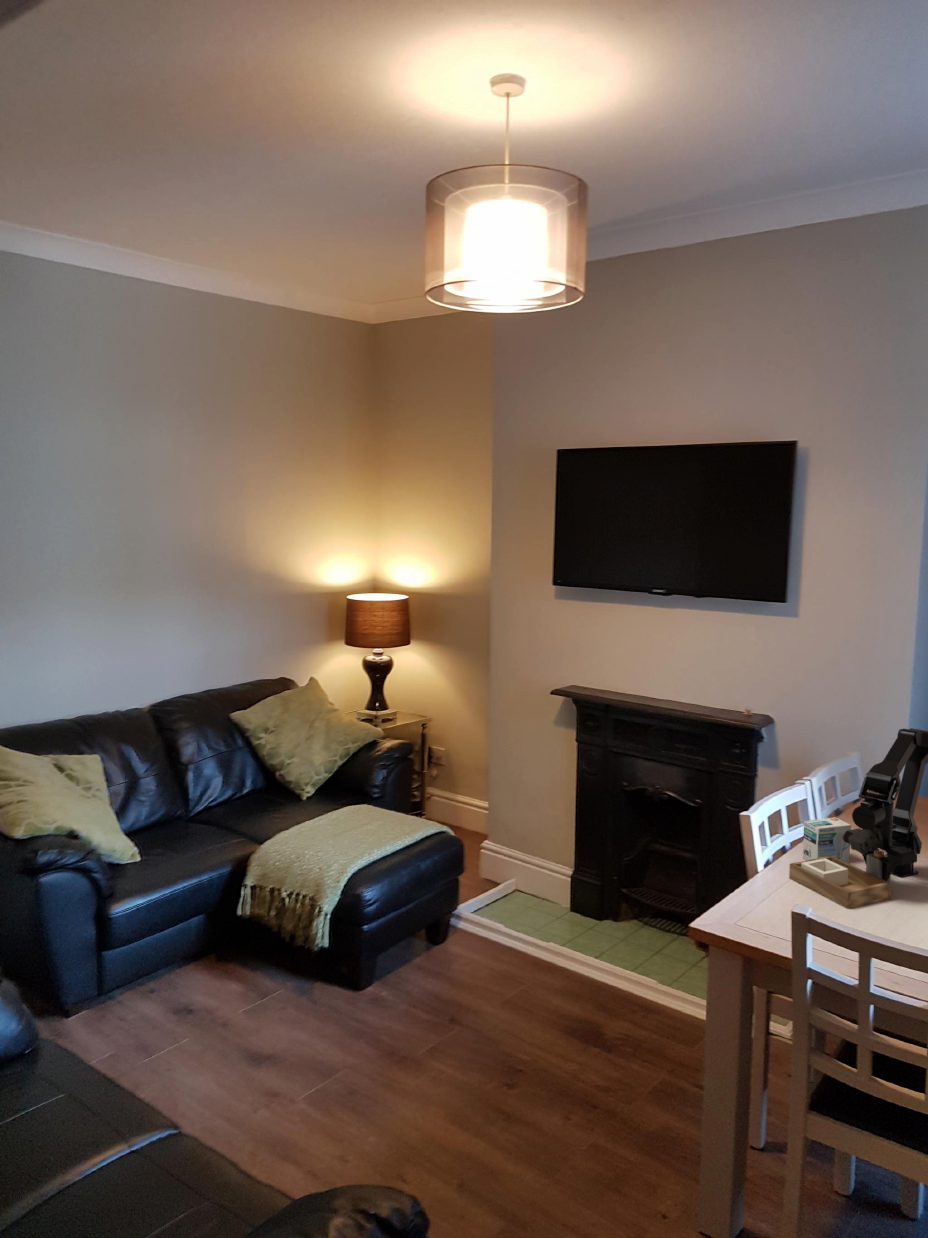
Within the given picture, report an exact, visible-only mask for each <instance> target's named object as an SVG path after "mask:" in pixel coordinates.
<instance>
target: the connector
mask: <svg viewBox="0 0 928 1238" xmlns="http://www.w3.org/2000/svg"><path fill="white" fill-rule="evenodd" d="M880 857H885V852H883V851H881V850H879V851H874V853H872V854H867V862H866V864H865V866H866V868H865V871H866V872H868V873H870V874H872V875H874V876H876V877H879V878H881V879H882V862H881V861H880V859H879V858H880ZM887 882H889V883H891V876H890V877H889V879H888V880H887Z"/></svg>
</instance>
